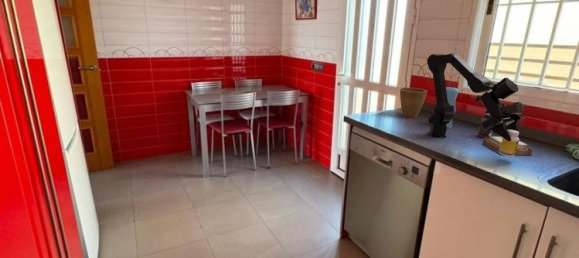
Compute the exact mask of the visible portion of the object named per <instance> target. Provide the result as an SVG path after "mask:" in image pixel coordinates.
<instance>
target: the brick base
mask: <svg viewBox="0 0 579 258" xmlns="http://www.w3.org/2000/svg"><path fill="white" fill-rule="evenodd" d="M502 139H503V137H501V136H492V137H489V138H484V139H482V145H484V146H486V147H487V148H489V149H491V150H492V151H495V152H496V153H498V154H499V155H501V154H500V153H499V149H500V146H501V142H502ZM532 155H533V149H532V147H528V144H527V143H525V142H523V141H521V140H519V143H518V146H517V150H516V153H515V156H532Z"/></svg>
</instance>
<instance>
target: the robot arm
mask: <svg viewBox="0 0 579 258" xmlns="http://www.w3.org/2000/svg"><path fill="white" fill-rule="evenodd" d="M426 64H427V66H428V69H429V71H430V72H431V73H432V77H433V85H434V87H433V88H434V95H435V103H436V104H435V107H434V109H433V115H431V116H430V117H428V123H429V124H430V126H429V131H427V134H429V135H430V136H431V137H432V138H446V137H447V136H446V134H447V129H448V127H446V125H447V124H448V123H449V122H450V120H452V119H454V117H455V114H456V112H454V106H453V105H450V104H449V103H448V98H447V90H446V87H447V84H446V76H445V71H446V69H447V66H448V64H450V65H451V66H452V67H453V68H454V70H456V71H457V72H458V73H459V74H460V75H461V76H462V77H463V78H464V79H465V80H466V83H467V86H468V88H470V91H472V93H475V94H479V95H476V98H475V101H474V102H475V103H478V102H481V103H482V104H483V107H484V108H485V109H486V111H484V112H485V114H489V115H490V116H491V117H490V118H489V119H487V120H485V121H483V122H482V127H483V129H488V128H489V126H491V125H492V126H491V127H492V128H490V129H489V130H492V131H493V133H495V134H497V135H498V136H499V137H503V138H504V139H506V140H507V141H511V137H510V135H509V133H508V131H507V130H515V131H518V132H519V135H518V136H517V137H518V138H519V140H520V139H521V135H520V130H519V123H520V122H521V120H523V119H525V116H524V114H523V112H524V108H525V105H524V104H523V102H522V101H516V102H513V104H511V105H507V104H506V103H502V101H501V100H506V99H507V98H508V97H510V96H512V95H515V93H517V92H519V86H518V85H517V83H515V82H514V81H512V80H511V79H510V78H509V77H504V78H502V79H500V81H498V82H496V83H494V82H492V80H491V79H490V78H488V77H486V76H484V75H483V74H480V73H478V72H476V71H475V69H474V68H472V67H471V65H469V64H468V63H467V62H466V61H465V60H464V59H463V58H462V57H461V56H460V54H458V53H456V52H455V53H448V54H443V53H442V54H441V53H438V54H437V53H436V54H433V53H432V54H430V55H429V56H428V58H427V59H426ZM452 121H453V120H452Z"/></svg>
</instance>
